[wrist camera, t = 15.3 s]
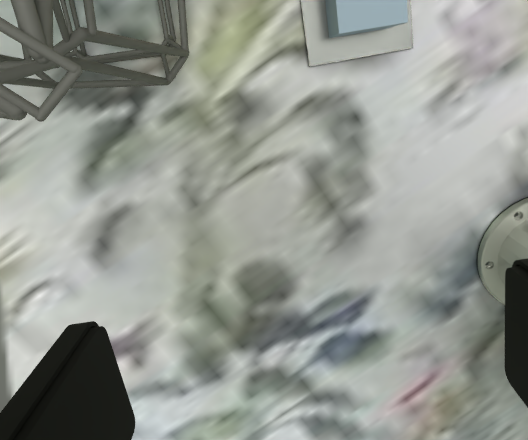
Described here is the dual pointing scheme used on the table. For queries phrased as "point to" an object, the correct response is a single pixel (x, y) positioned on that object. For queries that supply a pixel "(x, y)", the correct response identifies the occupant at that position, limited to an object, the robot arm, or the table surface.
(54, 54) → the geometric lantern
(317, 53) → the coaster
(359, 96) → the table surface
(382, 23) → the block
